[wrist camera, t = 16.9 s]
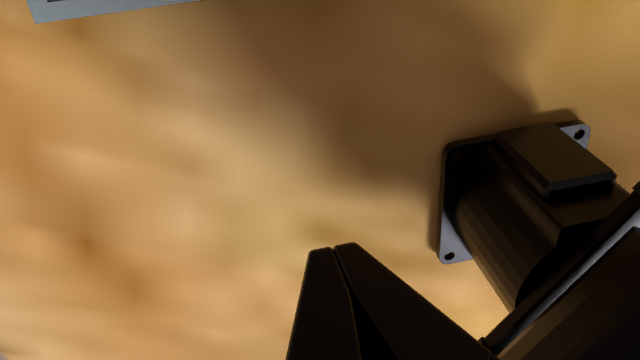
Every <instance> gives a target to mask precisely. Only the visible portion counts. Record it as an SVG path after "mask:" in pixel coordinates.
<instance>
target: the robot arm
mask: <svg viewBox="0 0 640 360" xmlns="http://www.w3.org/2000/svg"><path fill="white" fill-rule="evenodd" d="M578 130H579V131H578ZM577 131H578V133H577V134H575V132H577ZM574 134H575V135H574ZM589 136H590V127H589V126H588V125H587V124H586V123H584V122H583V121H581V120H573V121H567V122H562V123H556V124H554V123H545V124H539V125H534V126H528V127H522V128H517V129H511V130H505V131H500V132H497V133H496V134H493V135H488V136H482V137H476V138H470V139H465V140H459V141H454V142H451V143H449V144H448V145H446V146H445V148H444V149H443V152H442V163H441V180H440V197H439V214H438V231H437V248H436V254H437V257H438V259H439V260H440V262H441V263H443V264H452V263H457V262H462V261H466V260H471V259H474V261H475V262H476V264H477V265H478V267H479V268H480V270H481V271H482V273H483V274H484V276H485V277H486V278H487V280H488V281H489V283H490V284H491V286H492V287H493V289H494V290H495V292H496V293H497V295H498V296H499V298H500V299H501V301H502V302H503V304H504V305H505V307H506V308H507V310H508V311H509V314H508V315H507V316H506V317H505V318H504V319H503V320H502V321H501V322H500V323H499V324H498V325H497V326H496V327H495V328H494V329H493V330H492V331H491V332H490V333H489V334H488V335H487V336H486V337H485V338H484V337H481V338H480V339H479V340H478V341H477V340H476V339H475V338H473V337H472V336H471V335H470V334H468V333H467V332H466V331H465V330H464V329H462V328H461V327H460V326H459V325H457V324H456V323H455V322H454V321H452V320H451V319H450V318H449V317H447V316H446V315H445V314H444V313H442V312H441V311H440V310H439V309H437V308H436V307H435V306H434V305H432V304H431V303H430V302H429V301H428V300H426V299H425V298H424V297H423V296H421V295H420V294H419V293H418V292H416V291H415V290H414V289H413V288H411V287H410V286H409V285H408V284H406V283H405V282H404V281H403V280H401V279H400V278H399V277H398V276H397V275H395V274H394V273H393V272H392V271H390V270H389V269H388V268H387V267H385V266H384V265H383V264H382V263H380V262H379V261H378V260H377V259H375V258H374V257H373V256H372V255H370V254H369V253H368V252H367V251H366V250H364V249H363V248H362V247H361V246H359V245H358V244H357V243H354V242H350V243H345V244H340V245H336V246H334V247H333V249H332V248H331V247H325V248H320V249H315V250H311V251H310V252H309V254H308V258H307V263H306V268H305V272H304V277H303V281H302V286H301V291H300V295H299V300H298V304H297V309H296V314H295V318H294V323H293V328H292V332H291V337H290V341H289V346H288V351H287V355H286V360H640V181H639V182H638V183H637V184H636V185H635V186H634V187H633V188H632V189H633V190H634V191H633V192H632V193H631V194H630V193H628V192H627V191H626V190H625V189H624V188H622V187H621V186H620V185H619V184H617V183H616V182H615V181H616V178H617V175H616V173H615V172H614V171H613V170H612V169H611V168H609V167H608V166H607V165H606V164H604V163H603V162H602V161H600V160H599V159H598V158H597V157H595V156H594V155H593V154H592V153H590V152H589V151H588V150H587V144H588V140H589ZM457 151H459V153H458V154H457V155H456V156H454V157H452V155H453V154H454V153H455V152H457ZM449 252H450V253H449ZM447 253H449V254H447ZM446 254H447V255H446Z"/></svg>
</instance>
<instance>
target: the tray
mask: <svg viewBox="0 0 640 360" xmlns="http://www.w3.org/2000/svg"><path fill="white" fill-rule="evenodd" d="M26 1H27V3H28V6H29V9H30V11H31V14H32V16H33V19H34V21H35V24H37V23H44V22H51V21H58V20H65V19H72V18H79V17H86V16H93V15H100V14H107V13H114V12H121V11H128V10H135V9H142V8H149V7H156V6H163V5H170V4H177V3H184V2H191V1H198V0H26Z"/></svg>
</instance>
